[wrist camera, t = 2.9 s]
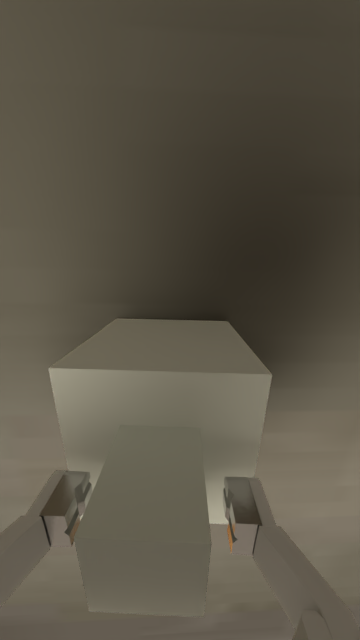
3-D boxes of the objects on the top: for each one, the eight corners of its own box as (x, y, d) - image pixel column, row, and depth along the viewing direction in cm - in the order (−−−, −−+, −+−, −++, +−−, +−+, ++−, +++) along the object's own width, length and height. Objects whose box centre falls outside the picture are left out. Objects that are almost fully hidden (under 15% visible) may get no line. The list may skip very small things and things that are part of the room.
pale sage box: (116, 318, 17) (-67, 451, 5) (227, 321, 17) (349, 467, 4) (123, 410, 20) (20, 649, 7) (219, 413, 19) (279, 663, 7)
